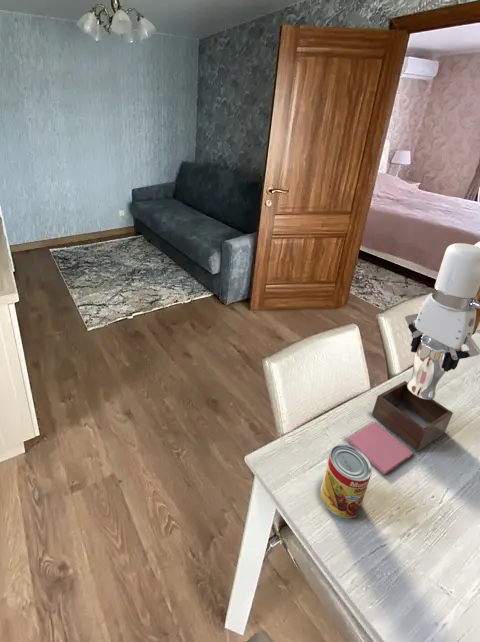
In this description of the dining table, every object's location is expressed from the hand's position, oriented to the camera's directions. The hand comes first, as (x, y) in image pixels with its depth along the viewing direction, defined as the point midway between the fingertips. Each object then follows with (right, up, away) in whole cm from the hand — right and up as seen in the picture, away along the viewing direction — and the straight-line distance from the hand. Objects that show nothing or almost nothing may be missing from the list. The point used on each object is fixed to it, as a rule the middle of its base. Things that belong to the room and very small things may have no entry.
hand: (431, 359), depth 85 cm
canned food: (-27, -28, -9) cm, 40 cm away
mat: (-12, -23, +2) cm, 26 cm away
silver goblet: (0, -10, +4) cm, 10 cm away
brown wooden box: (0, -21, +9) cm, 22 cm away
